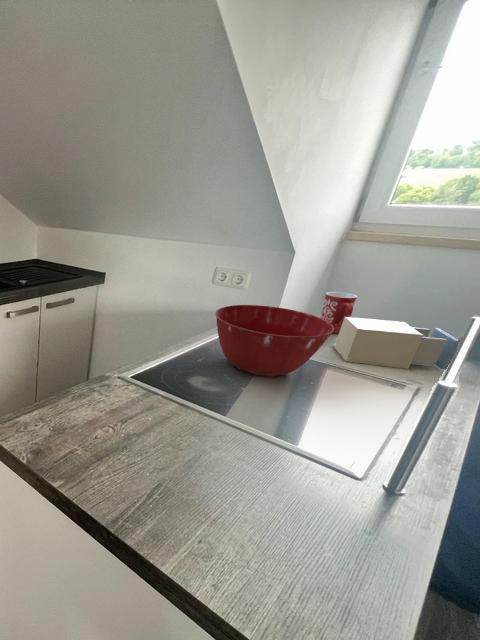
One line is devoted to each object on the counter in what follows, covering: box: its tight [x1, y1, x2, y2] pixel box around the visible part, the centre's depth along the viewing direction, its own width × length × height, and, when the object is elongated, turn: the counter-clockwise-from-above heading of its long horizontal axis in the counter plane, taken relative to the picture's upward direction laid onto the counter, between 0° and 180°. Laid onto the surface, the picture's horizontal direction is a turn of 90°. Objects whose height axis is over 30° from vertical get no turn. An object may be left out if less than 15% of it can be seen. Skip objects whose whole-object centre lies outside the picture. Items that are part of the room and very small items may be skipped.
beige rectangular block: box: [334, 316, 423, 370], centre depth 119 cm, size 15×13×11 cm
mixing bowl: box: [214, 304, 334, 377], centre depth 114 cm, size 28×28×16 cm
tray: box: [410, 326, 472, 371], centre depth 115 cm, size 18×11×9 cm, turn 65°
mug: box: [319, 291, 359, 334], centre depth 140 cm, size 13×9×14 cm
